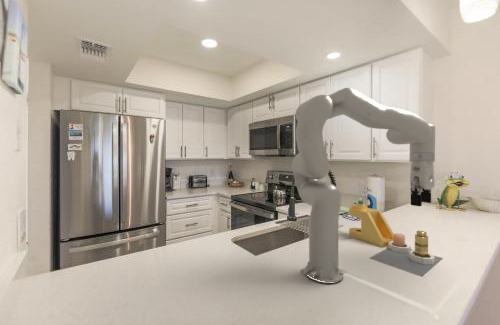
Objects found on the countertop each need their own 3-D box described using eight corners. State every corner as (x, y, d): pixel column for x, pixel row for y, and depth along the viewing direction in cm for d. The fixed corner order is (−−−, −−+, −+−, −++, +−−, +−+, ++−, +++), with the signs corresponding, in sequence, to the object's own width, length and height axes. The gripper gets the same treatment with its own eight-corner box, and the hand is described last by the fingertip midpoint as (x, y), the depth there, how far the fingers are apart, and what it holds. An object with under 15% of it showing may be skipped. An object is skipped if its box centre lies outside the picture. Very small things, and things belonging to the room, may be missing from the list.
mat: (421, 280, 75) (422, 276, 75) (368, 261, 88) (369, 258, 88) (443, 261, 88) (443, 258, 88) (394, 247, 101) (394, 244, 101)
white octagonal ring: (429, 266, 81) (430, 260, 81) (406, 258, 87) (406, 253, 87) (436, 260, 86) (436, 255, 86) (413, 253, 92) (413, 248, 92)
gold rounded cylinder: (425, 263, 84) (426, 234, 83) (412, 259, 87) (413, 231, 87) (429, 260, 86) (429, 232, 86) (416, 256, 89) (417, 229, 89)
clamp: (345, 236, 116) (345, 204, 116) (357, 233, 120) (358, 202, 120) (383, 250, 98) (383, 213, 98) (396, 246, 102) (397, 210, 102)
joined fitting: (405, 254, 91) (405, 239, 91) (385, 248, 97) (385, 234, 97) (412, 250, 95) (413, 235, 95) (393, 244, 101) (393, 231, 101)
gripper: (425, 158, 77) (424, 209, 78) (442, 157, 87) (441, 202, 88) (400, 158, 83) (399, 205, 84) (418, 157, 93) (417, 199, 94)
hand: (421, 203), depth 86 cm, fingers open, 9 cm apart
